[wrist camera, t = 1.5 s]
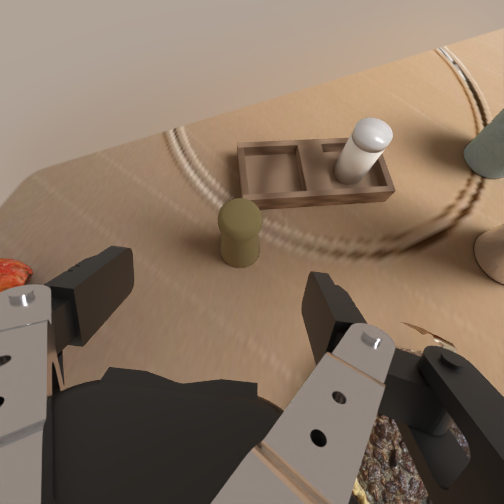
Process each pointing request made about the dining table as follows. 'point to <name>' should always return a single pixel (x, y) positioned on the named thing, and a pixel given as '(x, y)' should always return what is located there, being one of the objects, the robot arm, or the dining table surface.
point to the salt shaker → (362, 150)
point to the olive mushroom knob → (240, 232)
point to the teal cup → (488, 150)
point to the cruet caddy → (304, 175)
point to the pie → (394, 460)
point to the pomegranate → (13, 274)
